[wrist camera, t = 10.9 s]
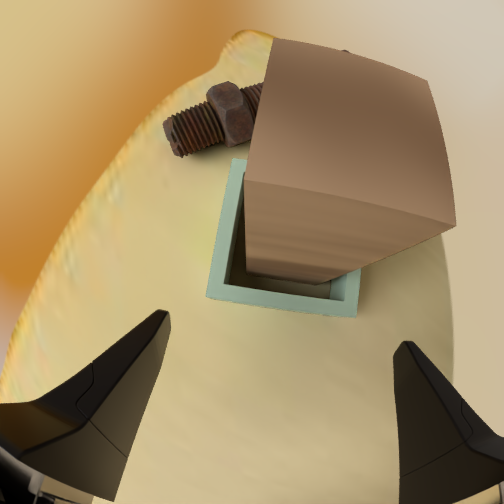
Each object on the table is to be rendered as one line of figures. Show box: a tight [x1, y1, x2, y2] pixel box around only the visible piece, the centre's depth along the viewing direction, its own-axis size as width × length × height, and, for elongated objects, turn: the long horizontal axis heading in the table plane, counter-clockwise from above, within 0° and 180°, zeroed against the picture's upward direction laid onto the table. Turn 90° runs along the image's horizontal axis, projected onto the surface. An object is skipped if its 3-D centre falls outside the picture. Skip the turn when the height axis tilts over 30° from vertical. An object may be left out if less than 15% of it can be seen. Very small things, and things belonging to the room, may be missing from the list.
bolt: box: [163, 50, 350, 158], centre depth 18 cm, size 6×5×15 cm
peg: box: [244, 38, 456, 285], centre depth 11 cm, size 4×4×13 cm
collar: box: [206, 158, 361, 318], centre depth 16 cm, size 8×8×3 cm
